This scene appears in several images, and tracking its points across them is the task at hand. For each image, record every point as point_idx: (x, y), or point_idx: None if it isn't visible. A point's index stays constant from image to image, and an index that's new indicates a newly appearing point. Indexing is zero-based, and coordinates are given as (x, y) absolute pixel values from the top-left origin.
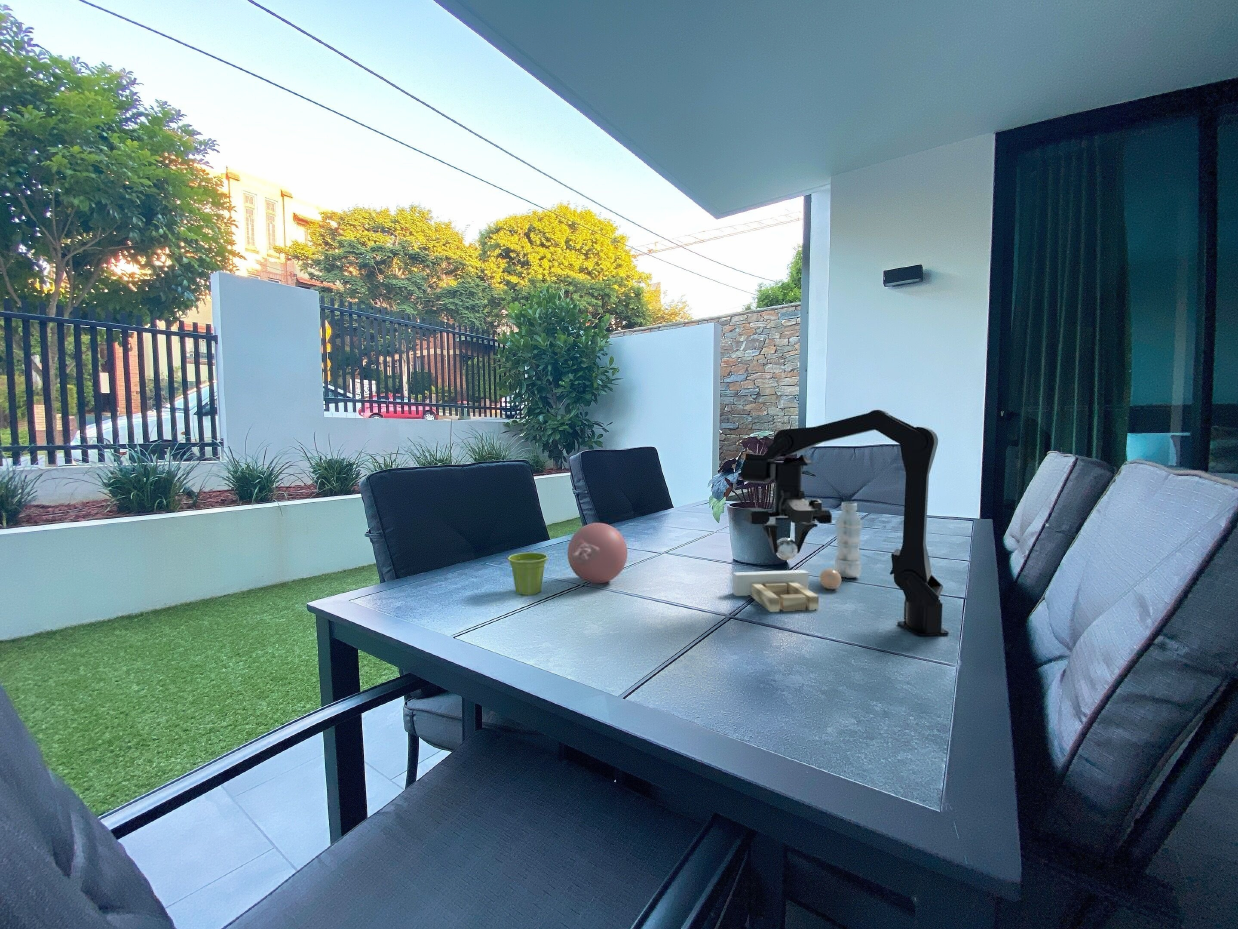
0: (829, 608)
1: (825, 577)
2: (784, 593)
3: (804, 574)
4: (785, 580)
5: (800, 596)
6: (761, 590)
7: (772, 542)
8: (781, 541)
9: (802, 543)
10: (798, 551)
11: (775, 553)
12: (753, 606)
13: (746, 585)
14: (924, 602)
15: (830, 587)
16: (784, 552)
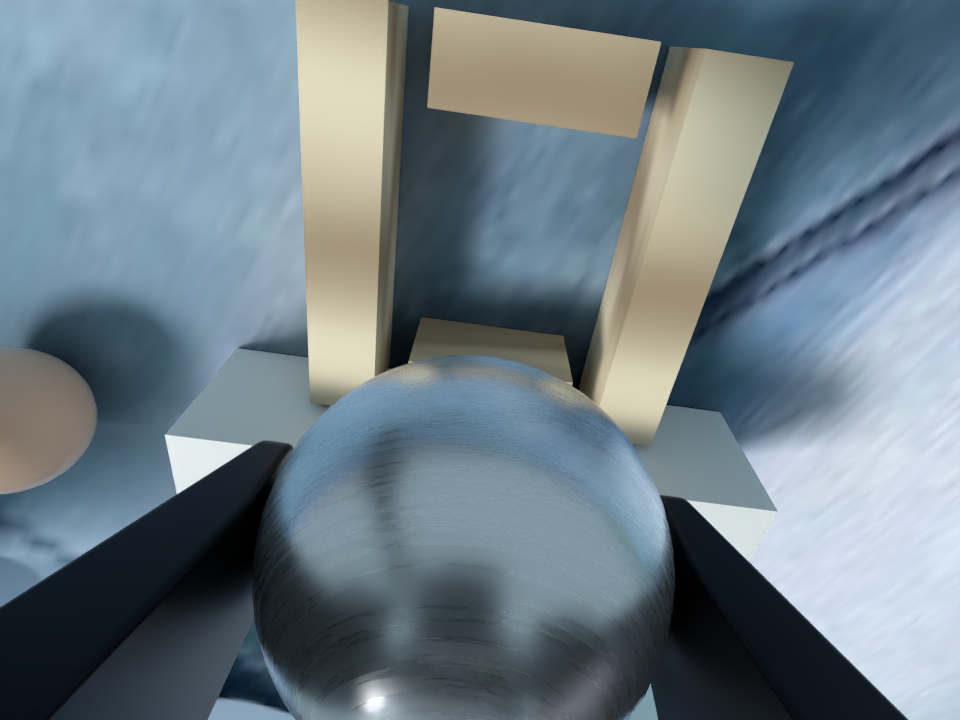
0: (222, 4)
1: (40, 411)
2: (434, 331)
3: (209, 429)
4: None
5: (478, 36)
6: (698, 290)
7: (863, 683)
8: (622, 683)
9: (109, 549)
10: (266, 454)
11: (672, 496)
12: (762, 215)
13: (673, 446)
14: None
15: (53, 357)
16: (608, 417)
